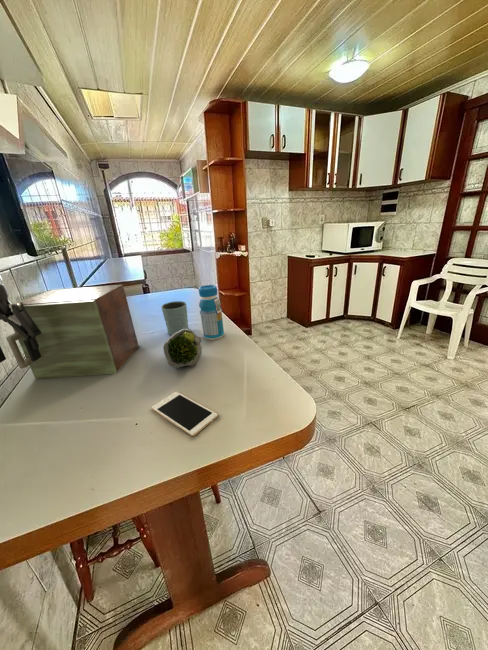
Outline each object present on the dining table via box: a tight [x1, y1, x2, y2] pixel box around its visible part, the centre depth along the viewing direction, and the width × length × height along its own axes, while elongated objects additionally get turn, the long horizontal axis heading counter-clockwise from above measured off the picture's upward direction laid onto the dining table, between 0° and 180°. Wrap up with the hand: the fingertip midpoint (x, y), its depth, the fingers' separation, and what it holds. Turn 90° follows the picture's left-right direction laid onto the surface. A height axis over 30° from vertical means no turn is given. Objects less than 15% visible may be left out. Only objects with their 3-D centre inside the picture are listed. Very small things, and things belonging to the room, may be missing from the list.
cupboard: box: [16, 284, 139, 372], centre depth 91 cm, size 18×26×24 cm
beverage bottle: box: [198, 284, 225, 341], centre depth 103 cm, size 8×8×20 cm
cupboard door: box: [5, 300, 118, 379], centre depth 79 cm, size 7×26×24 cm, turn 89°
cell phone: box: [151, 391, 218, 437], centre depth 65 cm, size 8×16×1 cm, turn 50°
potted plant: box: [162, 328, 203, 369], centre depth 85 cm, size 12×13×15 cm
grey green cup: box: [161, 300, 189, 336], centre depth 111 cm, size 10×10×12 cm
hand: (19, 360), depth 77 cm, fingers open, 10 cm apart
